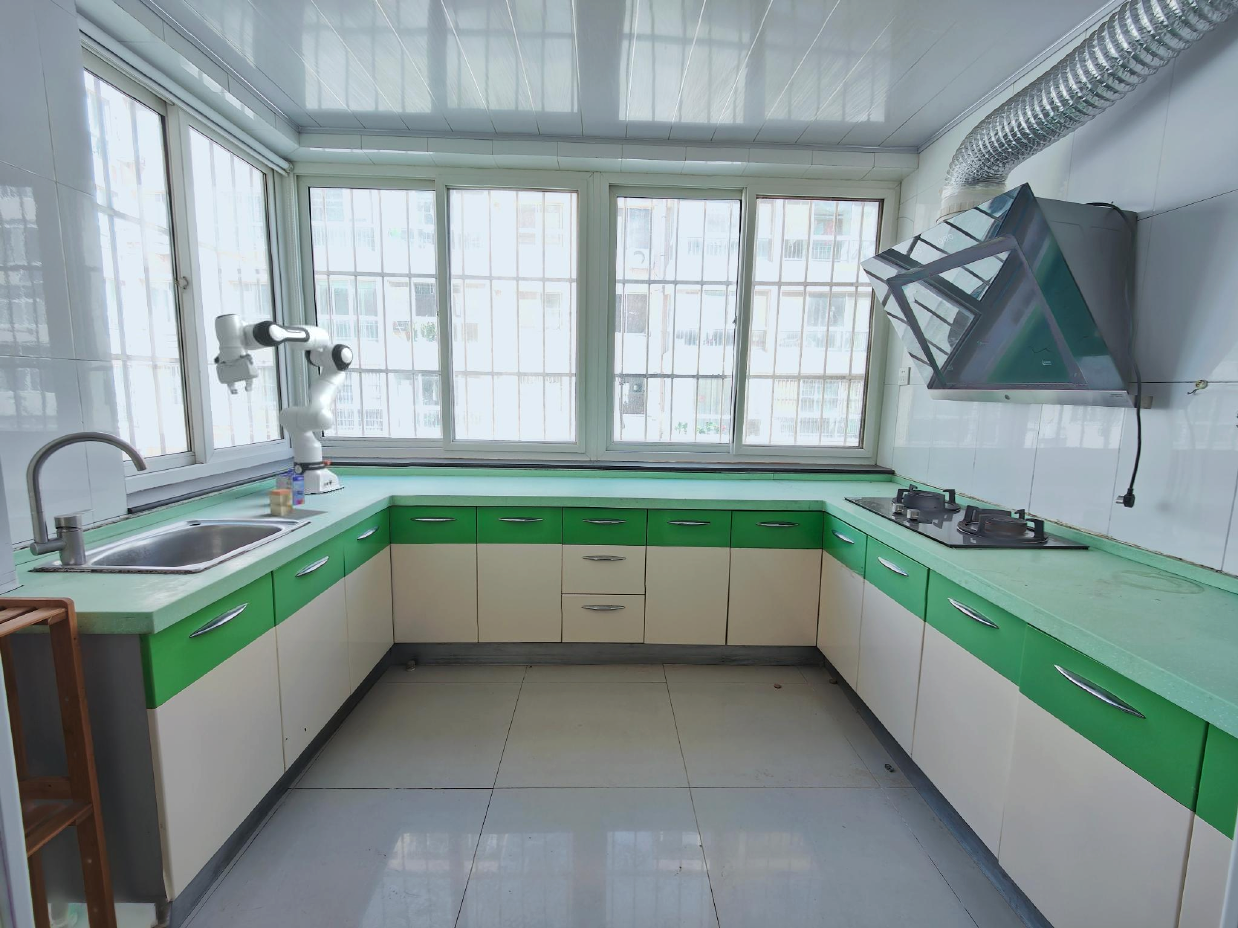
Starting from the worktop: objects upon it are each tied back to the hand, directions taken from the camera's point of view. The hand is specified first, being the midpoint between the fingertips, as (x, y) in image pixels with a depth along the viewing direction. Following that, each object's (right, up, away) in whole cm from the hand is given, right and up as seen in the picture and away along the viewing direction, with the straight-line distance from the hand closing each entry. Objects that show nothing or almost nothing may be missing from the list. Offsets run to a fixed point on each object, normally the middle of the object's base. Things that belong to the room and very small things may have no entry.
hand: (241, 392), depth 208 cm
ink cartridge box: (+12, -45, +11) cm, 48 cm away
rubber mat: (+25, -47, -7) cm, 54 cm away
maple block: (+20, -46, -8) cm, 51 cm away
